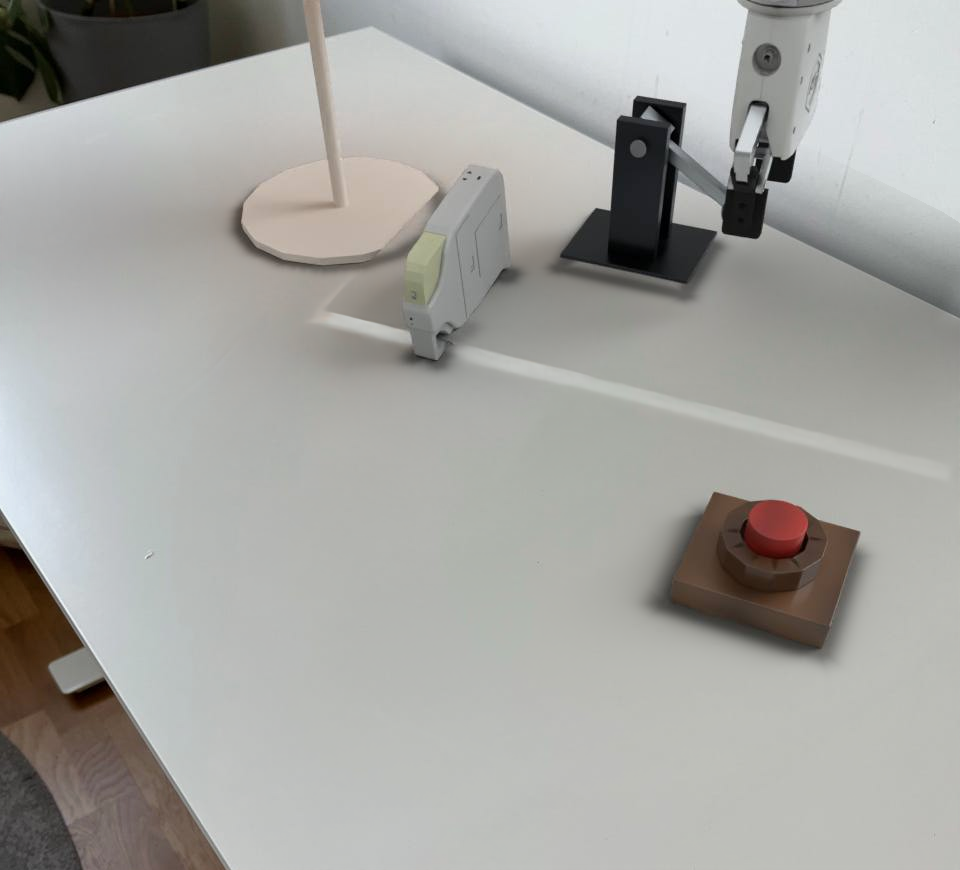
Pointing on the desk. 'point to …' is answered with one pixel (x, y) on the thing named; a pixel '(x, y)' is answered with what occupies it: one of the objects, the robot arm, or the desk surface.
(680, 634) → the desk surface
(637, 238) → the lever bracket
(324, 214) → the desk lamp
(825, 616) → the button block
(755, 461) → the desk surface
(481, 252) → the grey clip-foot housing
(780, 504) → the button
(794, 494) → the desk surface
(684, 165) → the tap lever
